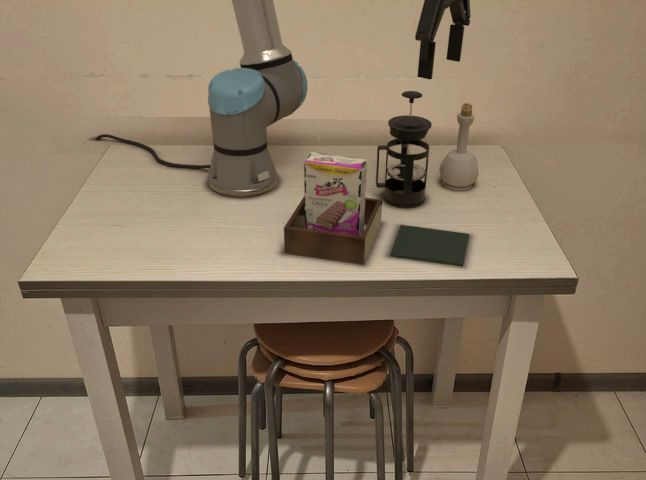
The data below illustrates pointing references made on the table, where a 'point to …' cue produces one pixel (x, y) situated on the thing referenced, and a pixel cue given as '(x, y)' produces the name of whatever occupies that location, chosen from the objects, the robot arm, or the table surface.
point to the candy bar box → (335, 193)
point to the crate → (332, 236)
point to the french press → (405, 159)
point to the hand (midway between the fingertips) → (439, 68)
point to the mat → (430, 245)
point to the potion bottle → (460, 156)
